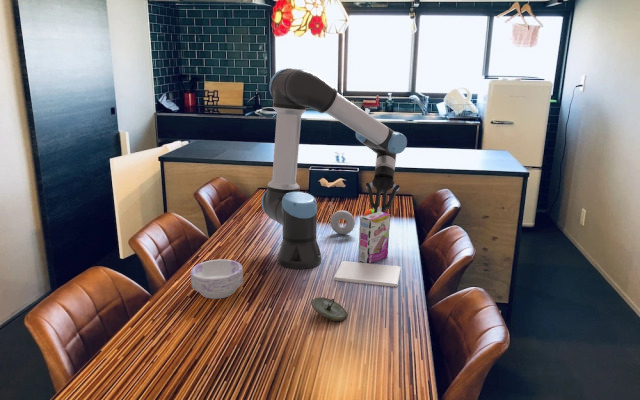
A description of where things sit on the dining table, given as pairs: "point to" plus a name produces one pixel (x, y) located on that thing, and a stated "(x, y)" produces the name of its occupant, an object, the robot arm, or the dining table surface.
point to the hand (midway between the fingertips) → (378, 224)
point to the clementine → (369, 212)
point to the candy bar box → (373, 237)
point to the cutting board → (368, 273)
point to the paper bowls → (217, 278)
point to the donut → (339, 228)
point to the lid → (329, 308)
